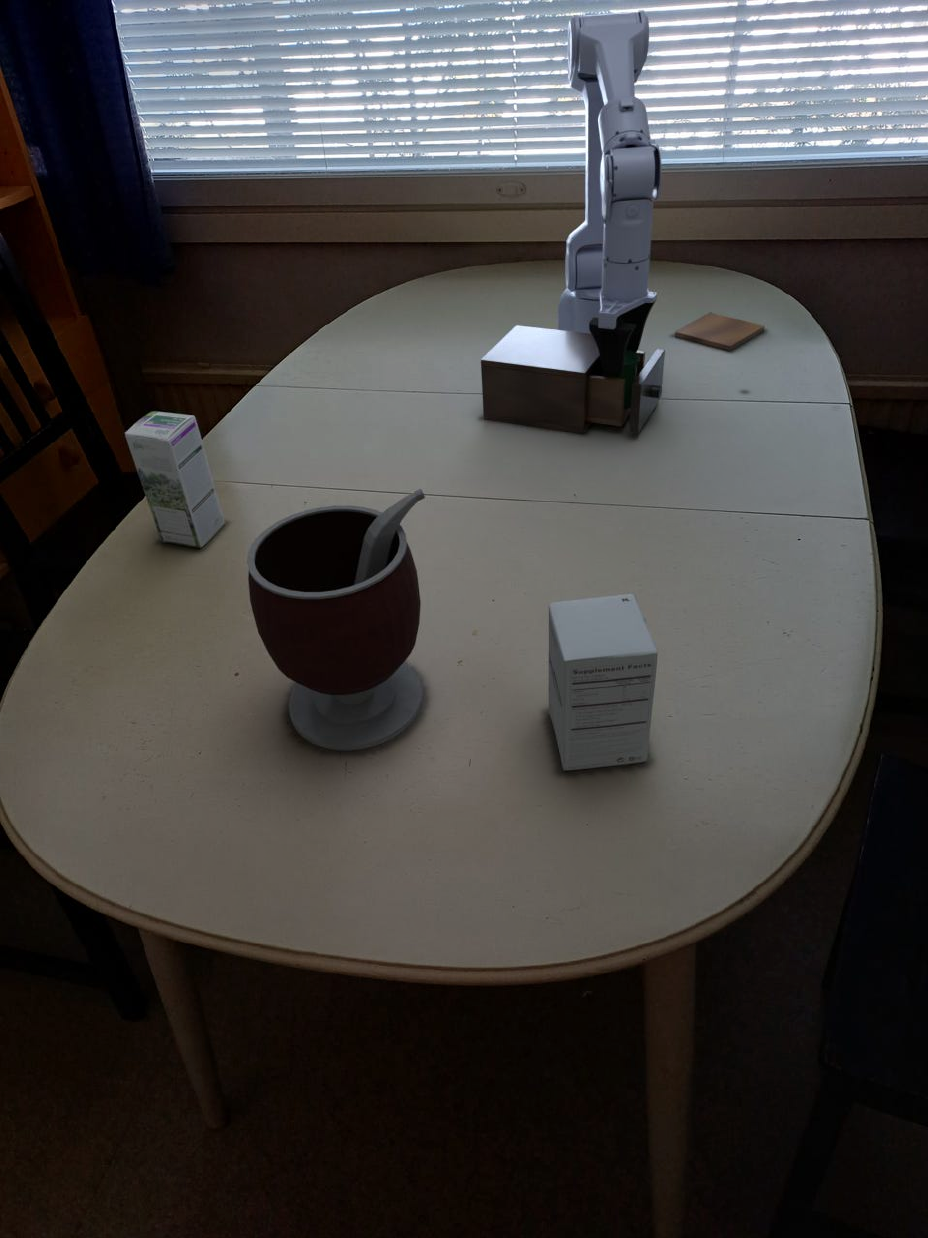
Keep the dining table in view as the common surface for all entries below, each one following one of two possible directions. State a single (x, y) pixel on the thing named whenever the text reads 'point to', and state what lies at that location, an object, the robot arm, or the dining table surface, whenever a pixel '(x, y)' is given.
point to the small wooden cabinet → (539, 378)
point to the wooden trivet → (719, 331)
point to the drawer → (609, 392)
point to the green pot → (628, 375)
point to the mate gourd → (341, 620)
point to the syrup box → (176, 478)
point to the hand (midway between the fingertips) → (620, 362)
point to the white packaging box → (601, 681)
